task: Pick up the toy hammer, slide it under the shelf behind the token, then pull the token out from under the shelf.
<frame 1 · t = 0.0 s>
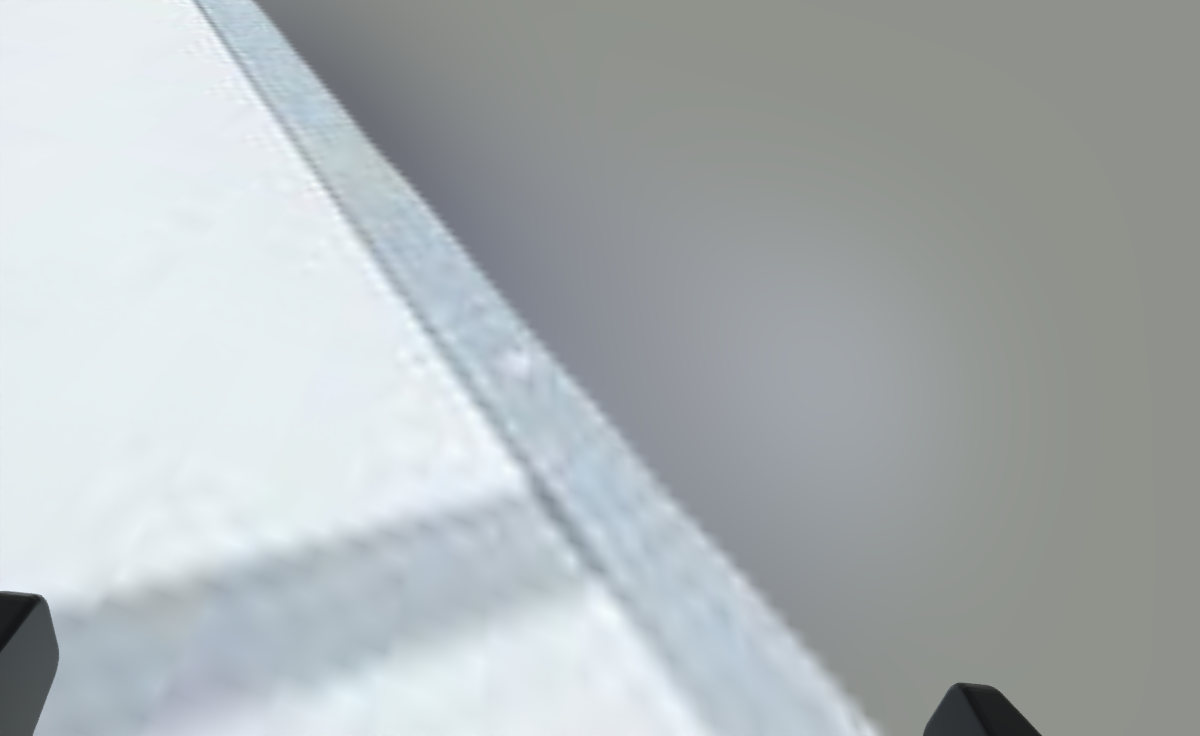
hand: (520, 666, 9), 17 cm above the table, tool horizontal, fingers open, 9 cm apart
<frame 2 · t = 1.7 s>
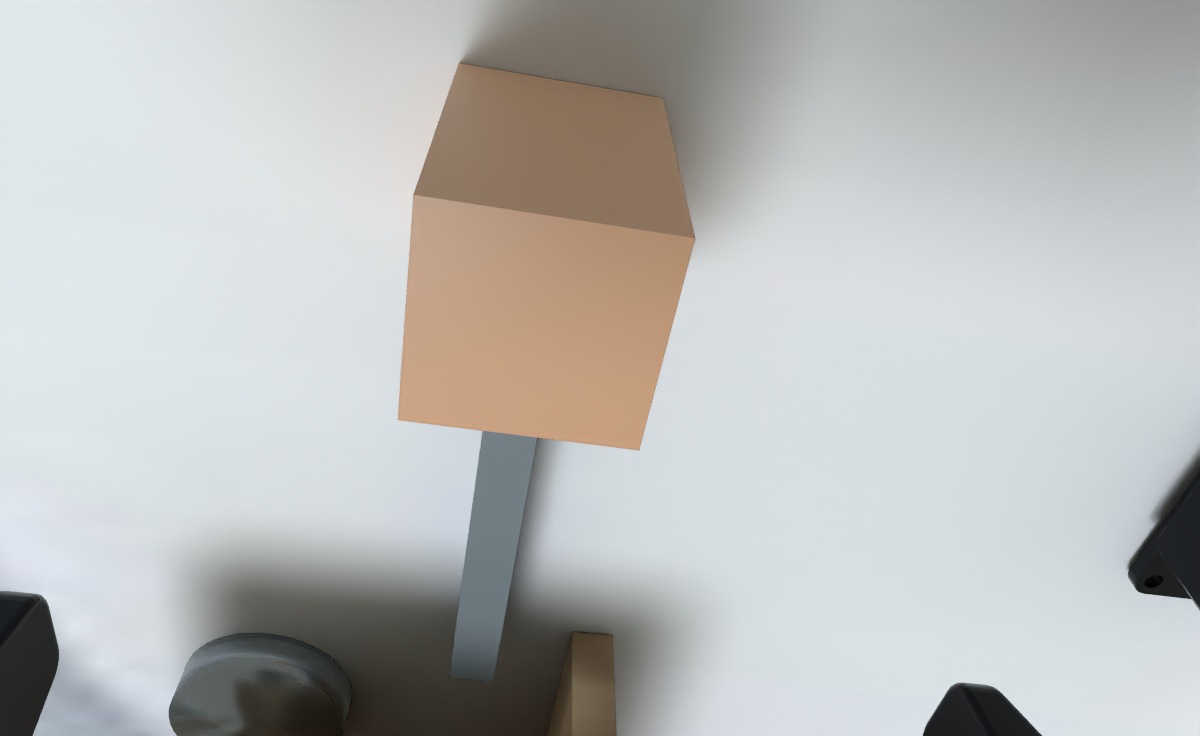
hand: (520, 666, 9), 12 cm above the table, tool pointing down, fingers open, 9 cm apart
toy hammer: (547, 176, 19), on the table
token: (271, 679, 29), on the table
shelf: (381, 735, 30), on the table
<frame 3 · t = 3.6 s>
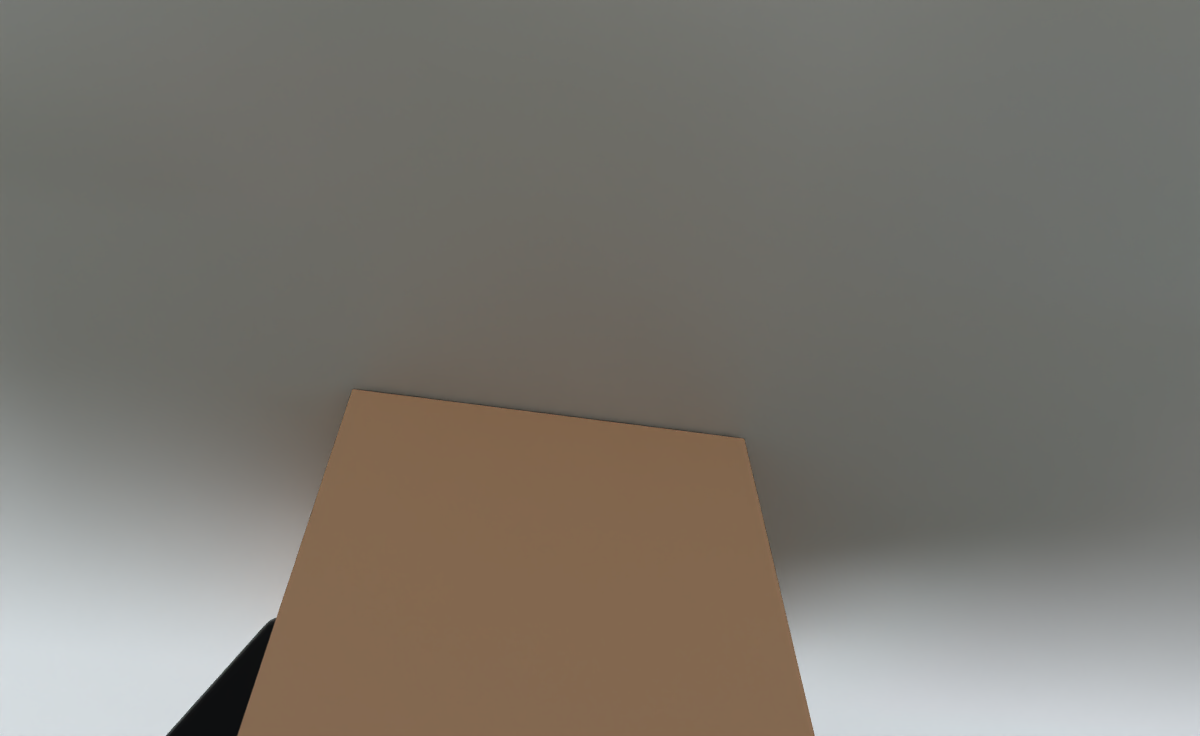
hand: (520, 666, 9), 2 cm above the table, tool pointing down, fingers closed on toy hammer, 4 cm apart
toy hammer: (527, 552, 10), on the table, touching gripper
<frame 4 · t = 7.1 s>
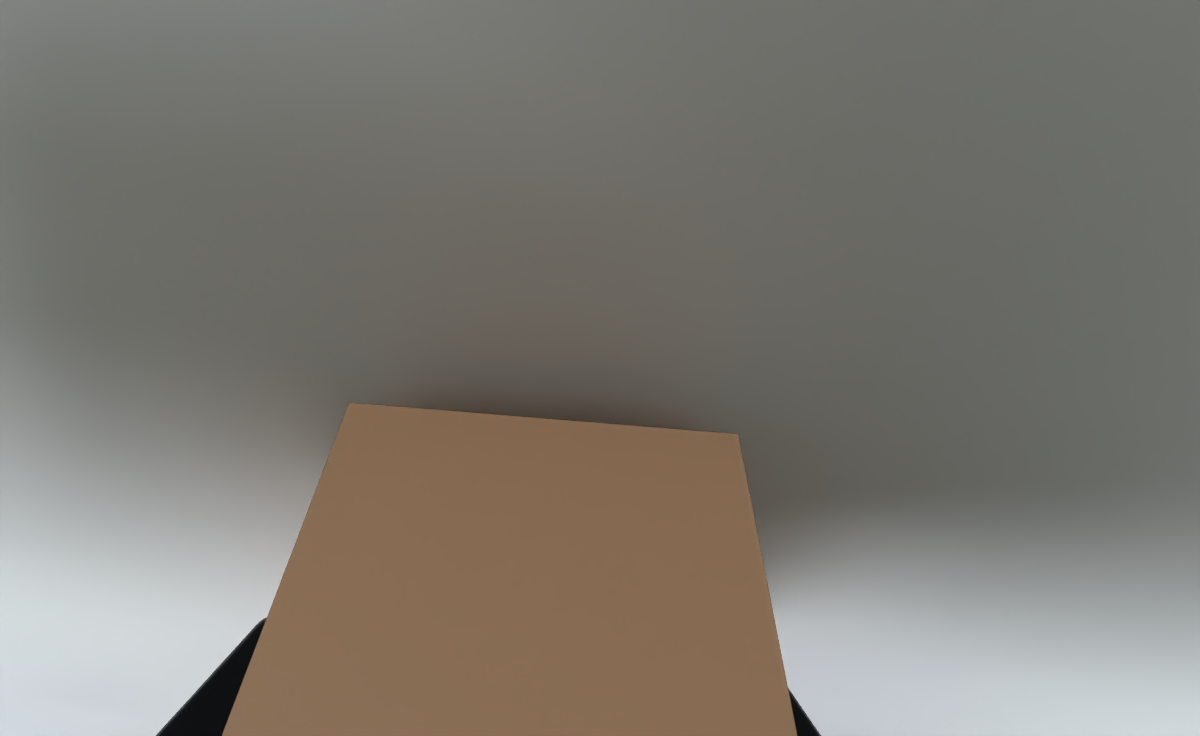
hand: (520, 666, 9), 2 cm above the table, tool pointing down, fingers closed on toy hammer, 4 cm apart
toy hammer: (534, 556, 11), point 1 cm above the table, touching gripper
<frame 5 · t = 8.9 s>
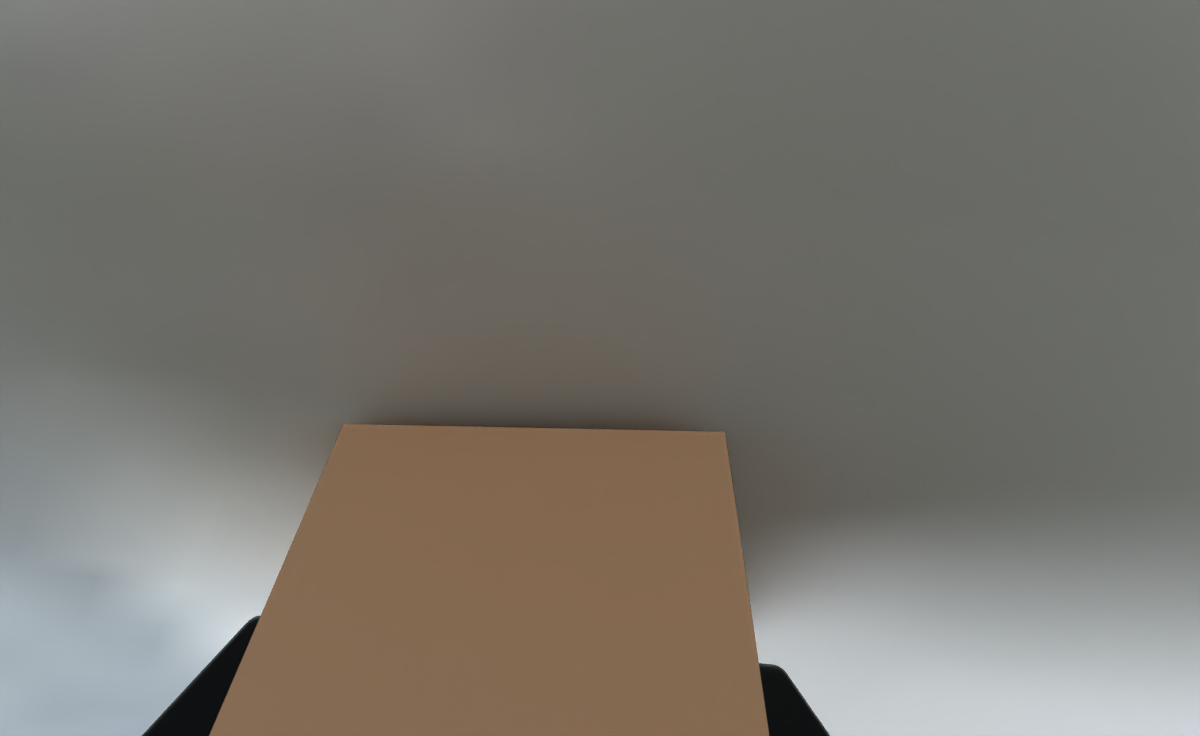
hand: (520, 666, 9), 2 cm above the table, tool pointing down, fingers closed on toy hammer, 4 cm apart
toy hammer: (539, 565, 11), on the table, touching gripper
when the fingers open (2 cm above the table, at t = 10.0 s): toy hammer stays where it is, on the table.
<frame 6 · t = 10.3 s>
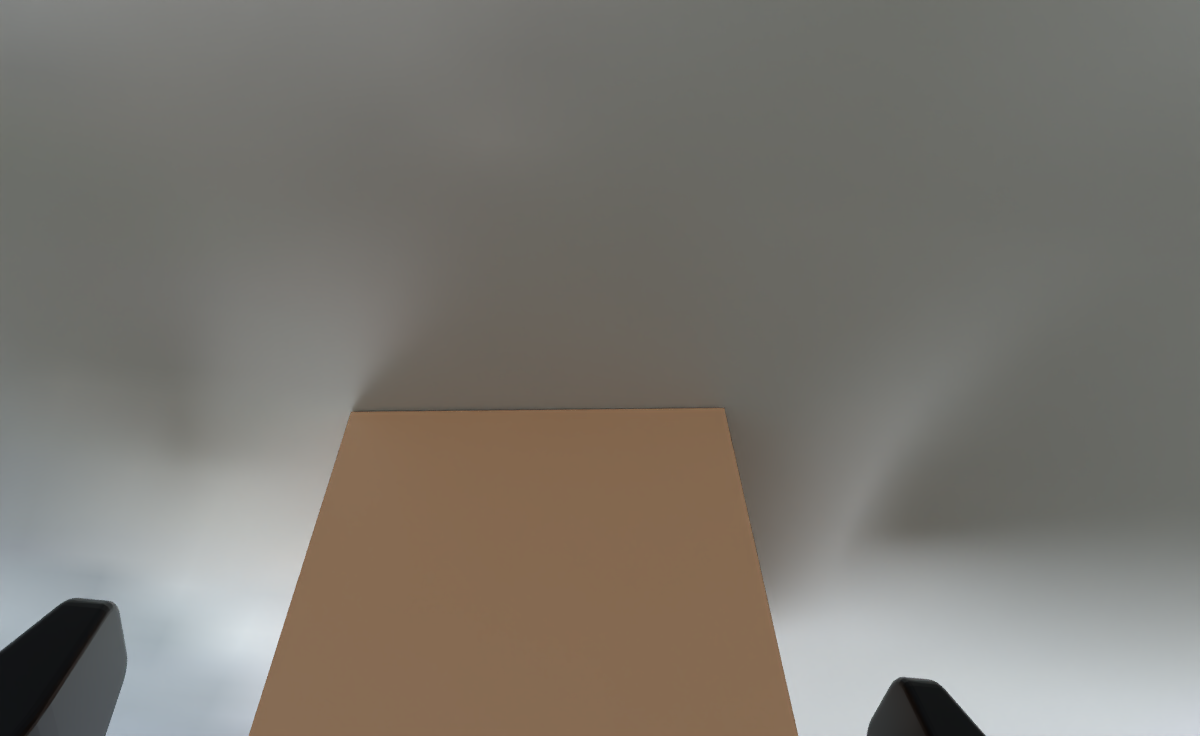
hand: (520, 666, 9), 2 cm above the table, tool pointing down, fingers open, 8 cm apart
toy hammer: (543, 542, 11), on the table
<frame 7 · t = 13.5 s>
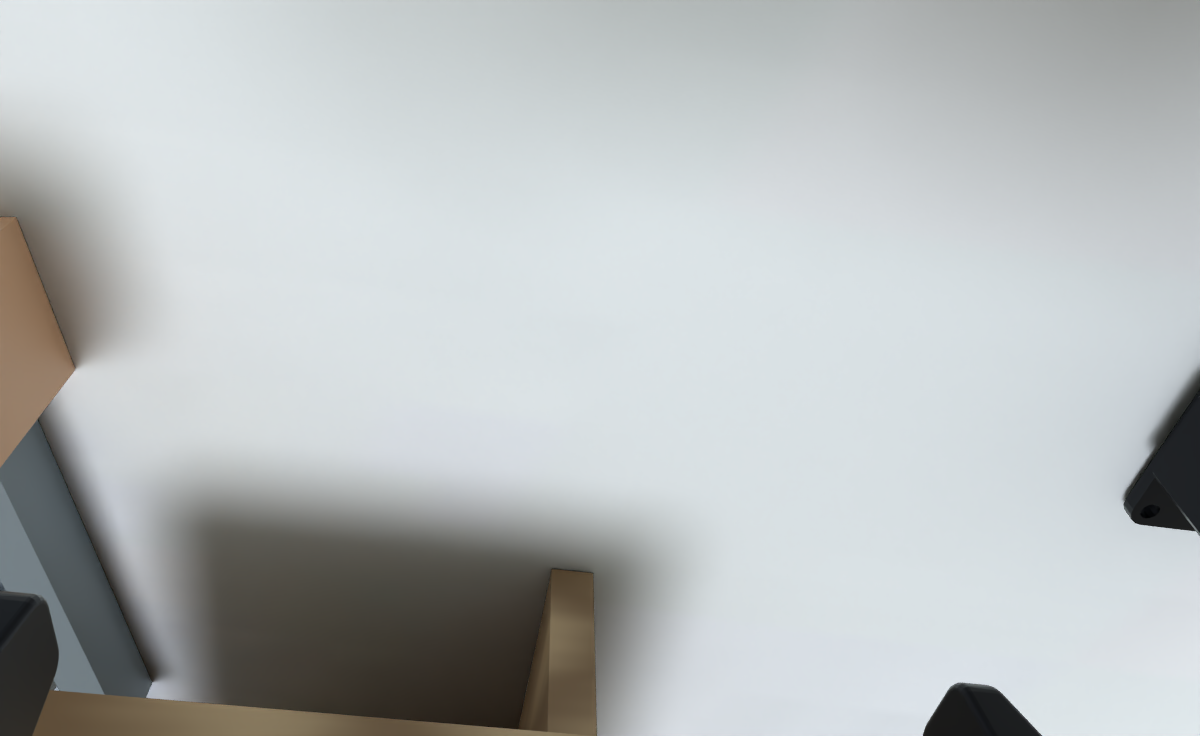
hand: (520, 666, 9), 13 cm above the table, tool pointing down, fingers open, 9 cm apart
shelf: (357, 681, 29), on the table
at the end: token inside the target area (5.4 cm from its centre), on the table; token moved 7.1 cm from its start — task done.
